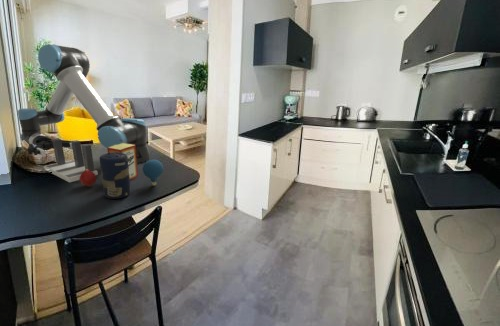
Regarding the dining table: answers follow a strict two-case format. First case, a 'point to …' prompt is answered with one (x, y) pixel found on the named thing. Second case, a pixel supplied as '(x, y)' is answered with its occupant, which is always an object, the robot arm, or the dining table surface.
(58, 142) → the block
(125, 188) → the dark blue cylinder
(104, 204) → the dining table surface
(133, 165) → the baking soda box
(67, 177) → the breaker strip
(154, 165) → the light bulb
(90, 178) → the pomegranate
